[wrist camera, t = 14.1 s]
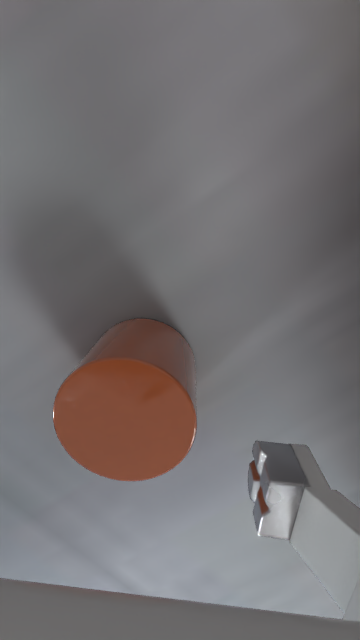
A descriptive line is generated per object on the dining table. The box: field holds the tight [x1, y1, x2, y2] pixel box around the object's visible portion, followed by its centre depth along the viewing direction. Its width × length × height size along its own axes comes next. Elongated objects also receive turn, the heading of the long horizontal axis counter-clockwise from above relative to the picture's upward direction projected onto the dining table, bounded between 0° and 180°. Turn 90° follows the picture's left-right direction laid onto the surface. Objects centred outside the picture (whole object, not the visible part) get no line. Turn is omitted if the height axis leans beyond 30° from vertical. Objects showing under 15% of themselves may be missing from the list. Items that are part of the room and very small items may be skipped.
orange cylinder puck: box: [53, 318, 197, 481], centre depth 12 cm, size 5×5×4 cm
